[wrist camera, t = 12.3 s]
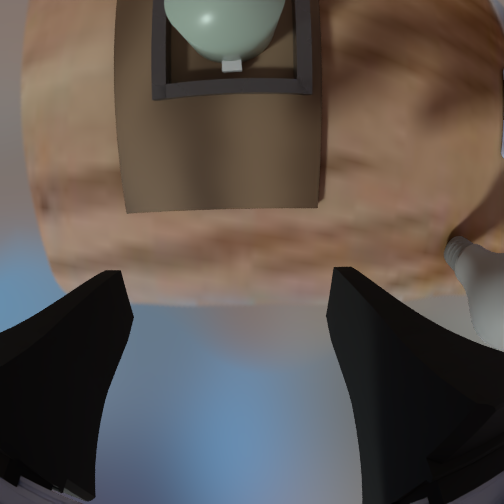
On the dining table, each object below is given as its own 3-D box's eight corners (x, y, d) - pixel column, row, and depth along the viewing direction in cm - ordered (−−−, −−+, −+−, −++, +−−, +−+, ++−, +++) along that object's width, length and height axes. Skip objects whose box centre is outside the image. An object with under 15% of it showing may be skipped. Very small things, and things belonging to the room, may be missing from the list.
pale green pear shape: (277, 71, 14) (290, 54, 9) (189, 77, 14) (165, 63, 9) (271, -16, 11) (280, -57, 6) (186, -10, 11) (165, -47, 6)
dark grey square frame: (303, -26, 10) (307, -35, 9) (307, 95, 14) (312, 94, 13) (160, -20, 10) (155, -27, 9) (158, 100, 14) (152, 100, 13)
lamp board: (313, -30, 11) (315, -34, 10) (315, 205, 18) (317, 208, 17) (122, -16, 11) (119, -19, 10) (129, 210, 18) (126, 213, 17)
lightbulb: (463, 195, 17) (566, 264, 8) (482, 247, 20) (560, 321, 10) (410, 243, 19) (497, 343, 10) (435, 290, 21) (501, 382, 12)
